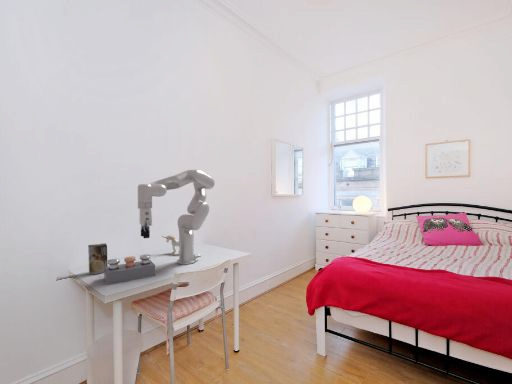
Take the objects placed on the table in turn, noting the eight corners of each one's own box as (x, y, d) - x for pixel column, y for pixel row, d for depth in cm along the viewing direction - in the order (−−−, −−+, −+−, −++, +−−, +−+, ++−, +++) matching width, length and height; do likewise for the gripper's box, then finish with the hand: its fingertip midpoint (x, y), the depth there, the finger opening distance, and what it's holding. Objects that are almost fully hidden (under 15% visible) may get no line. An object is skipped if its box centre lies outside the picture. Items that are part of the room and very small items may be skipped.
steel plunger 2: (149, 264, 154) (149, 254, 154) (151, 266, 149) (151, 256, 149) (139, 265, 151) (138, 255, 150) (141, 268, 146) (141, 257, 146)
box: (150, 269, 157) (150, 259, 157) (155, 275, 147) (155, 265, 147) (104, 277, 143) (104, 266, 143) (106, 284, 134) (106, 273, 133)
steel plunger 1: (118, 268, 145) (118, 258, 144) (120, 271, 140) (120, 260, 140) (107, 270, 141) (107, 259, 141) (108, 273, 137) (108, 262, 137)
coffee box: (106, 269, 158) (106, 242, 157) (107, 272, 152) (107, 244, 152) (88, 272, 152) (88, 244, 152) (89, 275, 147) (88, 247, 147)
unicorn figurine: (165, 251, 199) (165, 234, 199) (190, 252, 198) (190, 234, 198) (161, 254, 192) (161, 236, 192) (187, 254, 191) (187, 236, 191)
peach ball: (134, 266, 149) (134, 256, 149) (136, 269, 145) (136, 258, 144) (123, 268, 146) (123, 257, 146) (125, 270, 141) (125, 259, 141)
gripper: (155, 206, 144) (155, 238, 145) (148, 204, 158) (148, 234, 159) (141, 207, 140) (141, 240, 140) (134, 204, 154) (135, 235, 154)
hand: (145, 236), depth 149 cm, fingers open, 5 cm apart
